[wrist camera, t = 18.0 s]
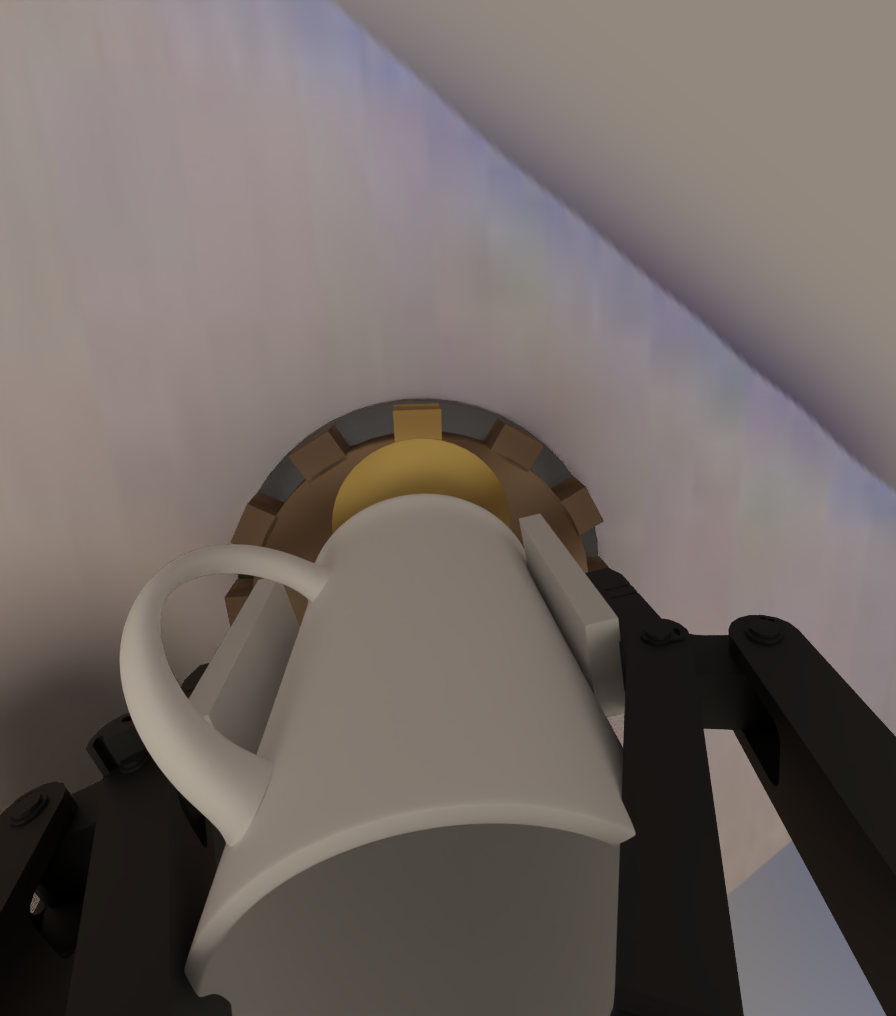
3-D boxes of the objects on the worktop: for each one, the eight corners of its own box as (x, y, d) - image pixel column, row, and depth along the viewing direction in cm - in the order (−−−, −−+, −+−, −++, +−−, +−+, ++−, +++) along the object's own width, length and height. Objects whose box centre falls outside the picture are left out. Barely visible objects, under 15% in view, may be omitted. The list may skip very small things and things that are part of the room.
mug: (185, 555, 17) (-226, 978, 6) (342, 374, 16) (191, 482, 4) (428, 722, 21) (460, 1185, 9) (576, 588, 19) (828, 954, 8)
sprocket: (154, 539, 23) (38, 635, 16) (490, 322, 21) (538, 315, 14) (376, 774, 29) (367, 923, 22) (651, 623, 27) (744, 731, 20)
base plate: (308, 744, 29) (305, 755, 28) (183, 449, 23) (176, 453, 22) (608, 672, 29) (613, 680, 29) (569, 358, 23) (575, 359, 22)
